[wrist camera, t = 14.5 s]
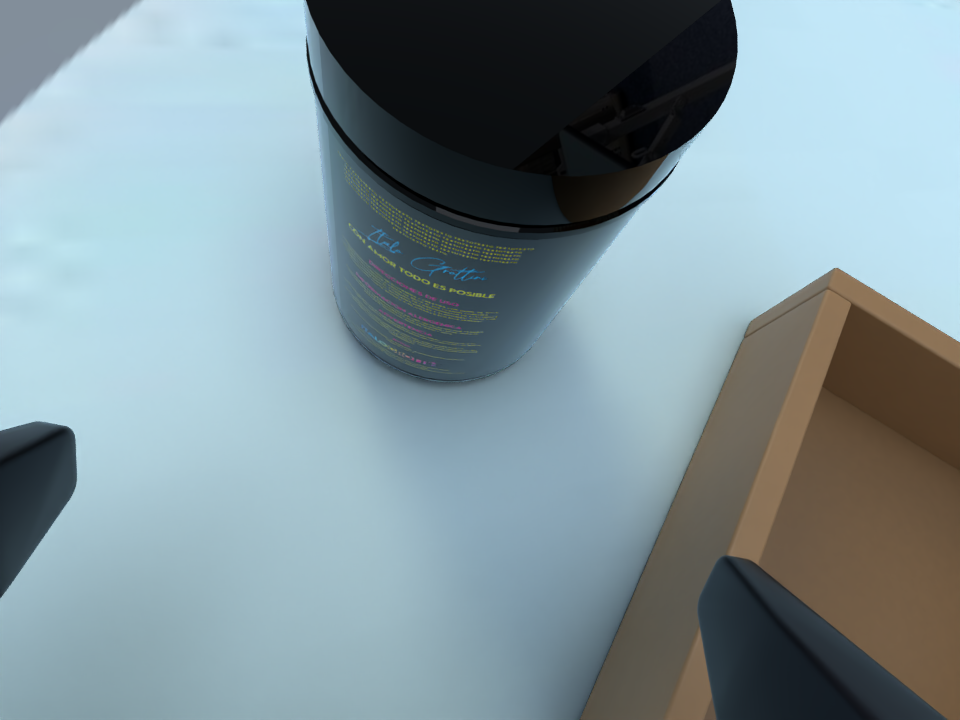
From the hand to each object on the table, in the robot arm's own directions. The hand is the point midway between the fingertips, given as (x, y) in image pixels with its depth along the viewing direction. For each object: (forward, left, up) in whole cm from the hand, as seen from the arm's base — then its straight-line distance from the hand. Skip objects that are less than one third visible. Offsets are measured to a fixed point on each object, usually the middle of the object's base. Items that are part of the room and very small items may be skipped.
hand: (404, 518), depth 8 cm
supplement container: (+7, +3, -8) cm, 11 cm away
